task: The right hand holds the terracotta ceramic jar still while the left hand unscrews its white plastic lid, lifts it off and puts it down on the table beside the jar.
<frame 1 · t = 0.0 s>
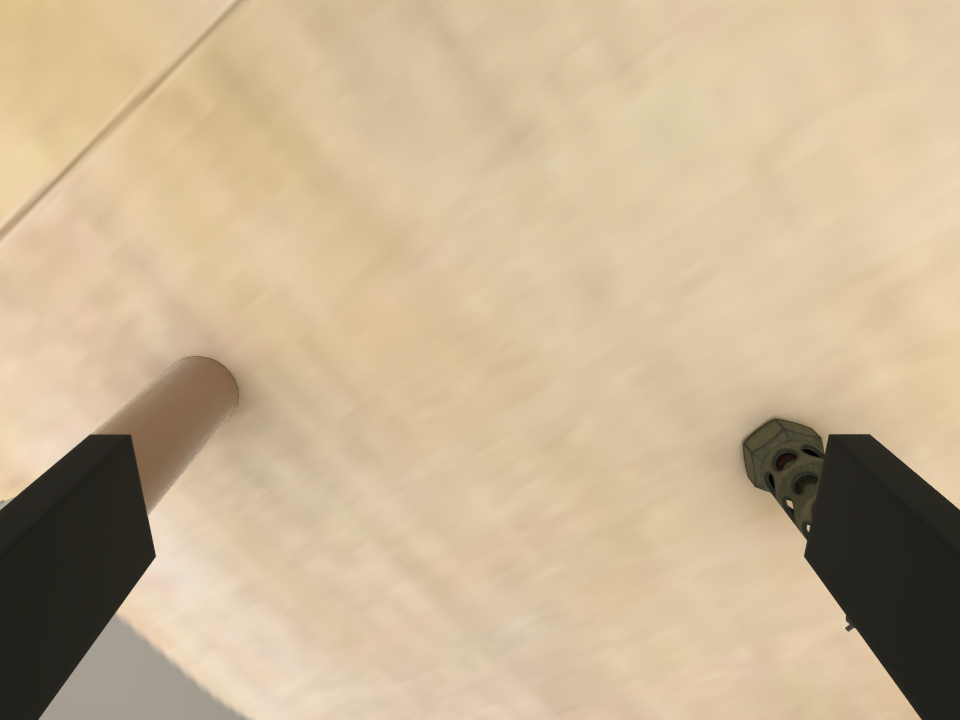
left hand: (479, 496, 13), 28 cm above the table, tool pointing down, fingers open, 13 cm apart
grenade: (795, 446, 44), on the table
jar: (201, 390, 43), on the table
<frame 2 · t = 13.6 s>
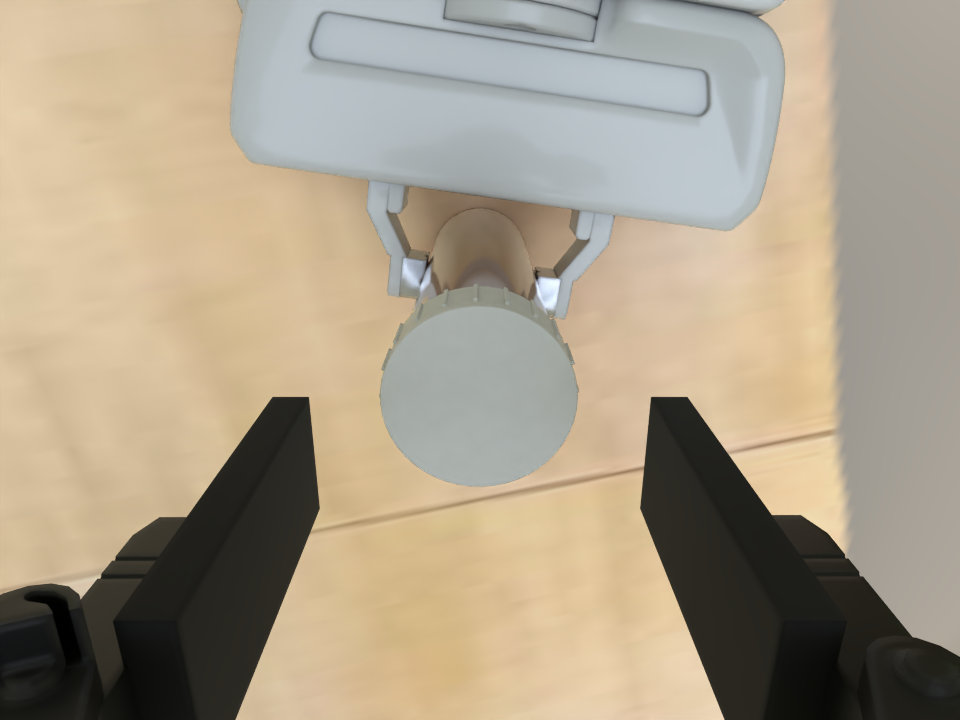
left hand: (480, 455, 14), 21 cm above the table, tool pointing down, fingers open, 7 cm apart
right hand: (477, 304, 29), fingers closed on jar, 4 cm apart
lid: (478, 395, 17), point 18 cm above the table, screwed on, not yet turned
jar: (479, 254, 34), on the table, touching right hand
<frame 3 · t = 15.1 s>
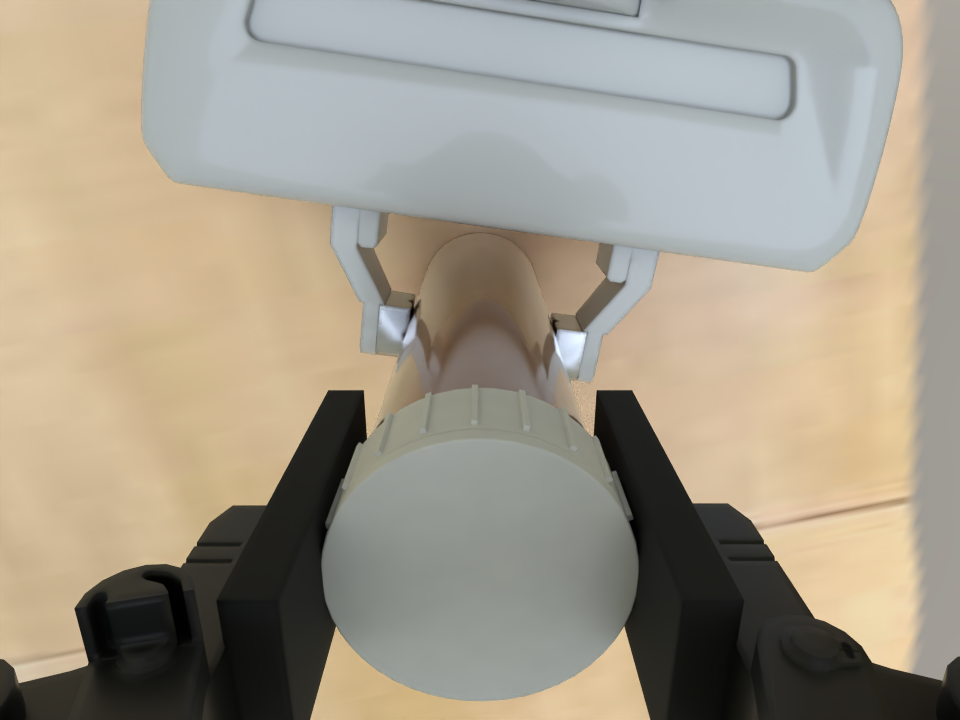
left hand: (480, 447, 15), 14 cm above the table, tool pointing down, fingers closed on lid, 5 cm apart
right hand: (477, 362, 22), fingers closed on jar, 4 cm apart
lid: (480, 567, 11), point 18 cm above the table, screwed on, not yet turned, touching left hand
jar: (480, 289, 28), on the table, touching right hand
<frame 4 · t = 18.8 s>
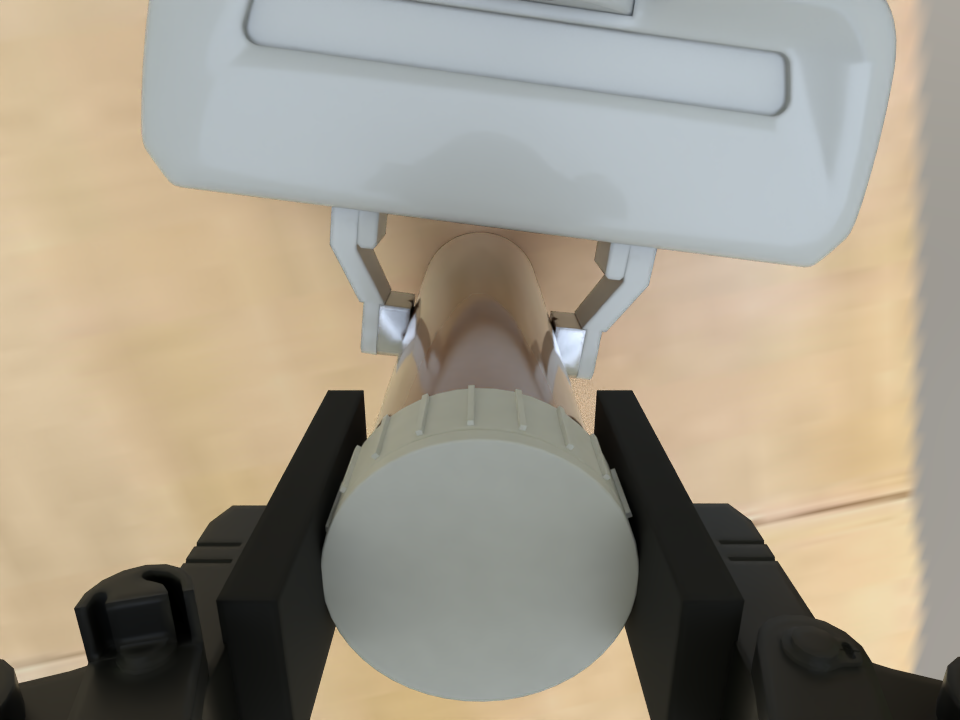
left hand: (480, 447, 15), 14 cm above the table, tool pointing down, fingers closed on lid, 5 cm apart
right hand: (477, 361, 22), fingers closed on jar, 4 cm apart
lid: (479, 567, 11), point 18 cm above the table, turned 127° so far, risen 0.1 cm, still on its thread, touching left hand
jar: (480, 288, 28), on the table, touching right hand
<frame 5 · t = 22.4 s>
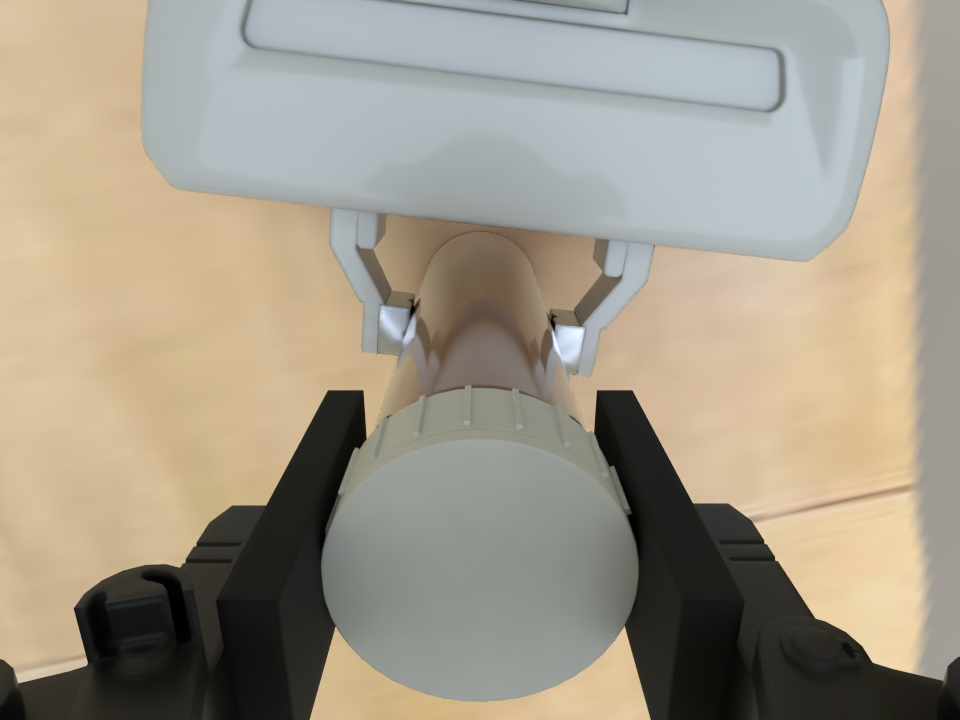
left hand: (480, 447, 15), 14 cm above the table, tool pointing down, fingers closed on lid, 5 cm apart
right hand: (478, 359, 22), fingers closed on jar, 4 cm apart
lid: (479, 567, 11), point 18 cm above the table, turned 253° so far, risen 0.3 cm, still on its thread, touching left hand
jar: (480, 287, 28), on the table, touching right hand
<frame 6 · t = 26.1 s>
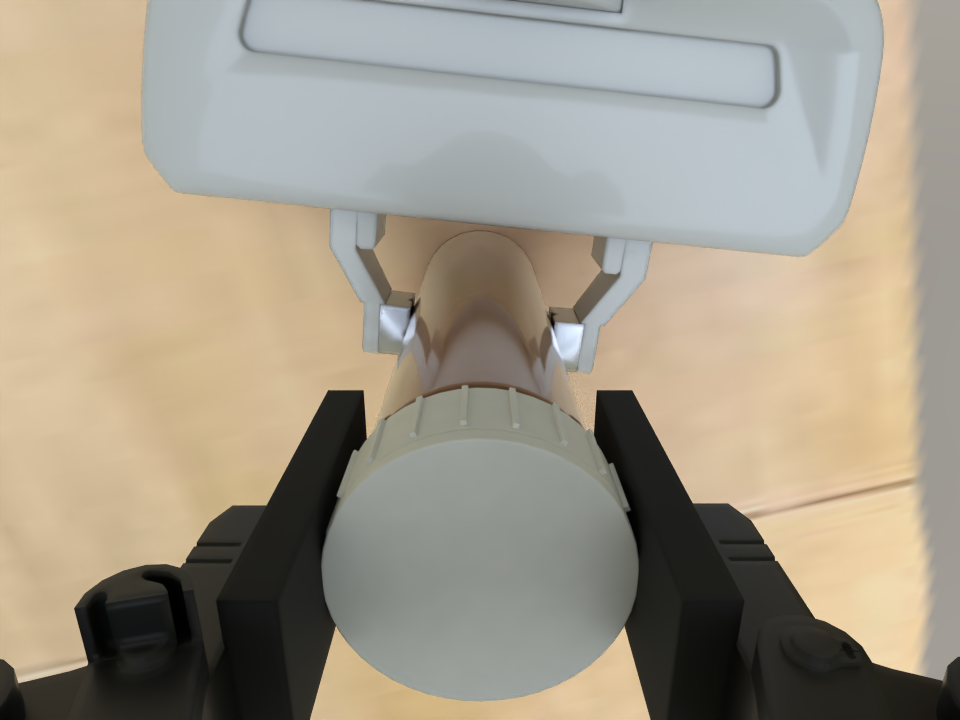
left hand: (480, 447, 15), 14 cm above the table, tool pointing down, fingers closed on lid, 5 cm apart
right hand: (478, 358, 23), fingers closed on jar, 4 cm apart
lid: (480, 567, 11), point 18 cm above the table, turned 380° so far, risen 0.4 cm, still on its thread, touching left hand
jar: (480, 286, 28), on the table, touching right hand
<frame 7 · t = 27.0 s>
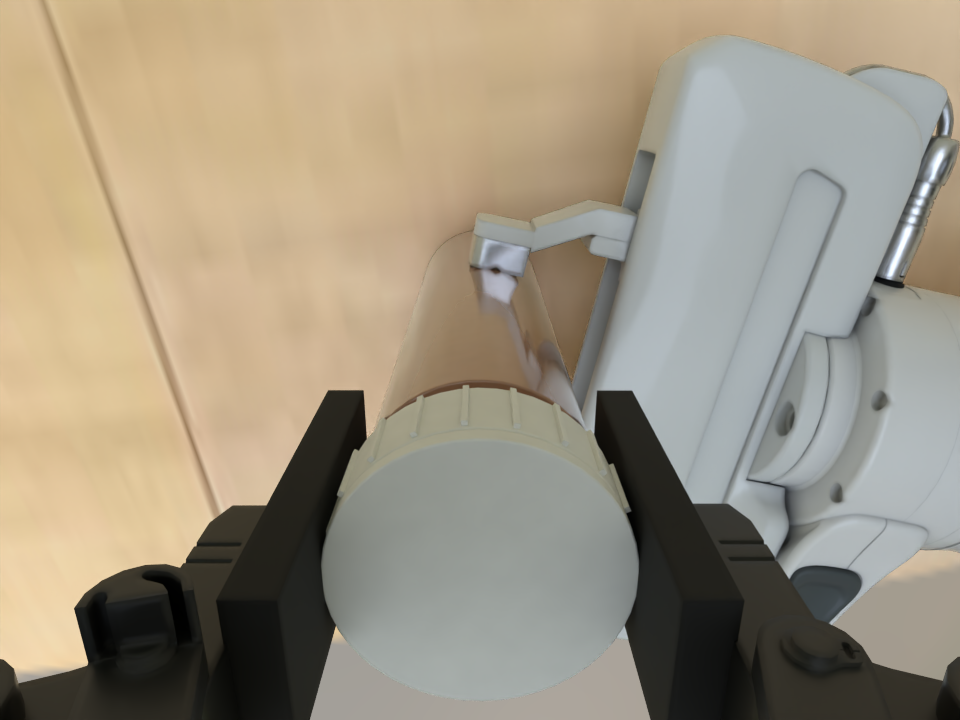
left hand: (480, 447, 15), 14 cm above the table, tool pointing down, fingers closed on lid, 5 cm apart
lid: (480, 567, 11), point 18 cm above the table, turned 476° so far, risen 0.5 cm, still on its thread, touching left hand
jar: (480, 285, 28), on the table, touching right hand
when the left hand's fingers open (0 cm above the table, at t = 33.9 s): lid drops 3 cm, point 2 cm above the table.
when the right hand's fingers open (6 cm above the table, at t = 34.5 s): jar stays where it is, on the table.
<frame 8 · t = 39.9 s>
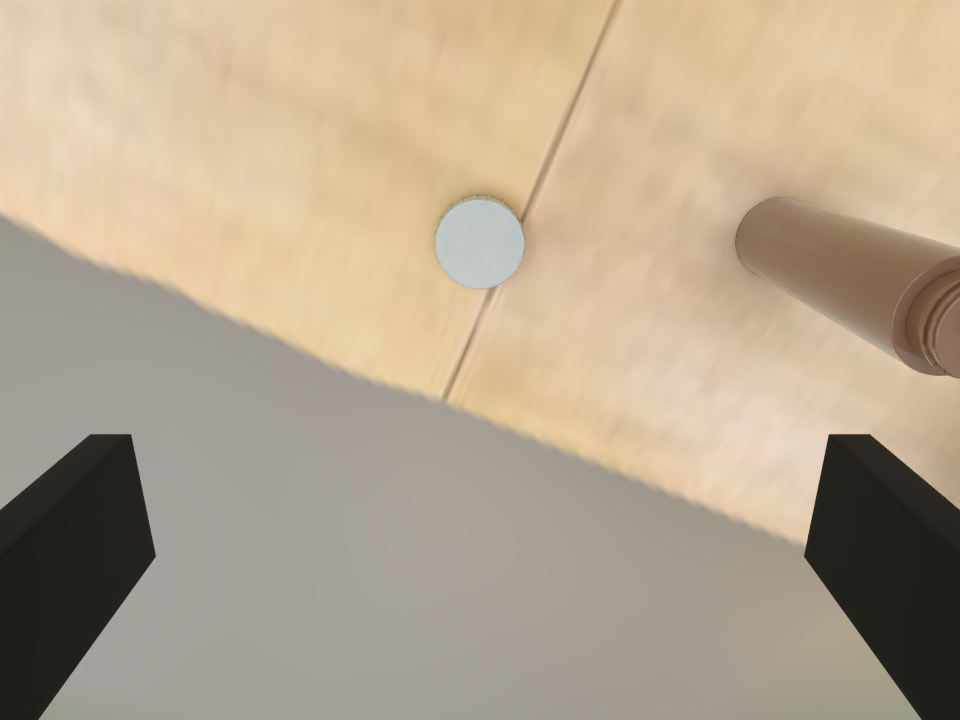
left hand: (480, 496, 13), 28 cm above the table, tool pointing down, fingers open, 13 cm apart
lid: (479, 244, 38), point 2 cm above the table, off its thread
jar: (775, 237, 39), on the table
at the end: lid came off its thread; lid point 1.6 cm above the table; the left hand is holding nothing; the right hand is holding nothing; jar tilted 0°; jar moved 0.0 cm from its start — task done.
